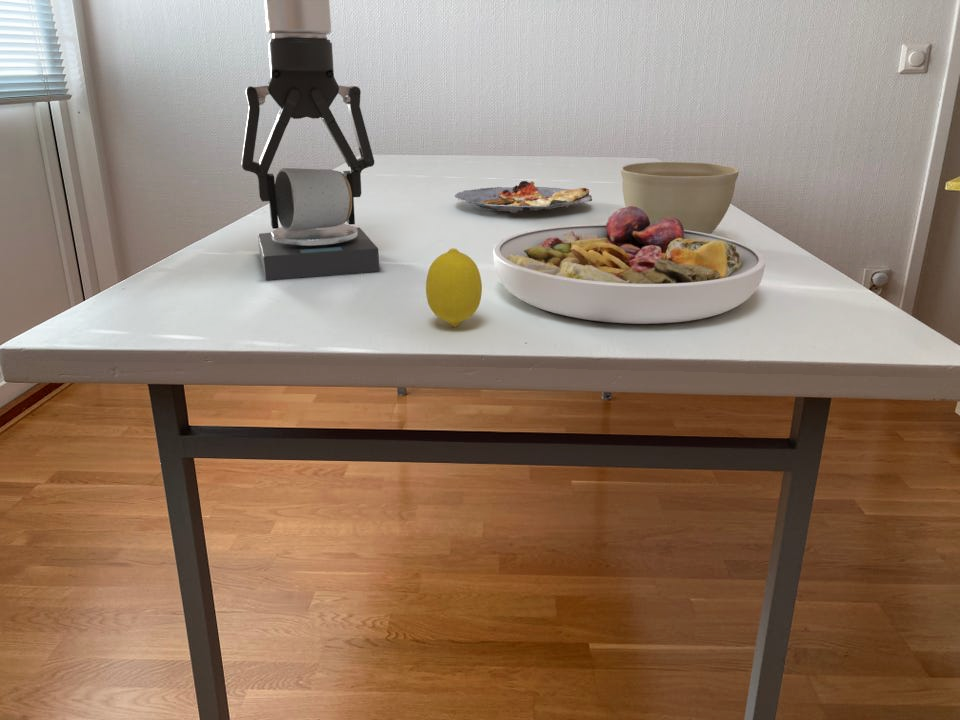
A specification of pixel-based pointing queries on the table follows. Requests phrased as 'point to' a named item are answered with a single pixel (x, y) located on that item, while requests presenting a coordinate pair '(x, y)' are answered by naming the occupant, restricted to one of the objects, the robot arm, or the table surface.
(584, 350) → the table surface
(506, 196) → the food plate
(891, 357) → the table surface
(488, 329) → the table surface
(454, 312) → the lemon
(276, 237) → the scale pan
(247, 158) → the robot arm
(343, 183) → the ceramic mug
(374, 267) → the scale
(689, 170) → the planter bowl
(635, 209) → the bowl
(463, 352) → the table surface
